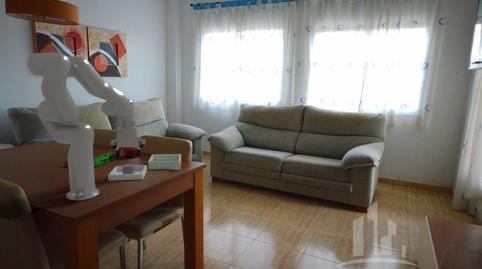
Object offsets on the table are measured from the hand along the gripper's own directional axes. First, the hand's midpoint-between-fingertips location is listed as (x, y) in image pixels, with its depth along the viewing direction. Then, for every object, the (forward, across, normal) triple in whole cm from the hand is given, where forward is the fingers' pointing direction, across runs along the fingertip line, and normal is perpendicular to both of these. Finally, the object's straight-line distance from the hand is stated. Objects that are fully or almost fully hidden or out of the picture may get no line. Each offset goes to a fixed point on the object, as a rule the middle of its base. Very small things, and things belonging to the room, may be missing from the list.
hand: (129, 157), depth 158 cm
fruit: (+12, -7, +42) cm, 44 cm away
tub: (+10, -1, -1) cm, 10 cm away
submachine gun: (+11, -30, +29) cm, 43 cm away
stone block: (+9, -1, -1) cm, 9 cm away
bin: (+11, +16, +17) cm, 26 cm away
